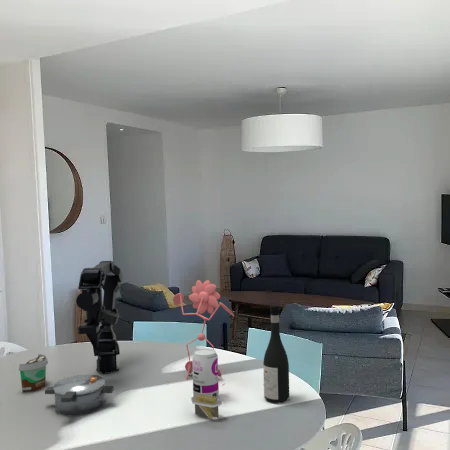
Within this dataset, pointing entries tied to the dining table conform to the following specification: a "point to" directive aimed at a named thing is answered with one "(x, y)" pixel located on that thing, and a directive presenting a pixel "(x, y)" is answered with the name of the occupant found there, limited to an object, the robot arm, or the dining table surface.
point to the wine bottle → (276, 364)
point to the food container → (33, 374)
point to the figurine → (201, 309)
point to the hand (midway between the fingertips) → (95, 347)
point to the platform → (206, 405)
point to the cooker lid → (78, 386)
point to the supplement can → (205, 373)
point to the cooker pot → (81, 402)
